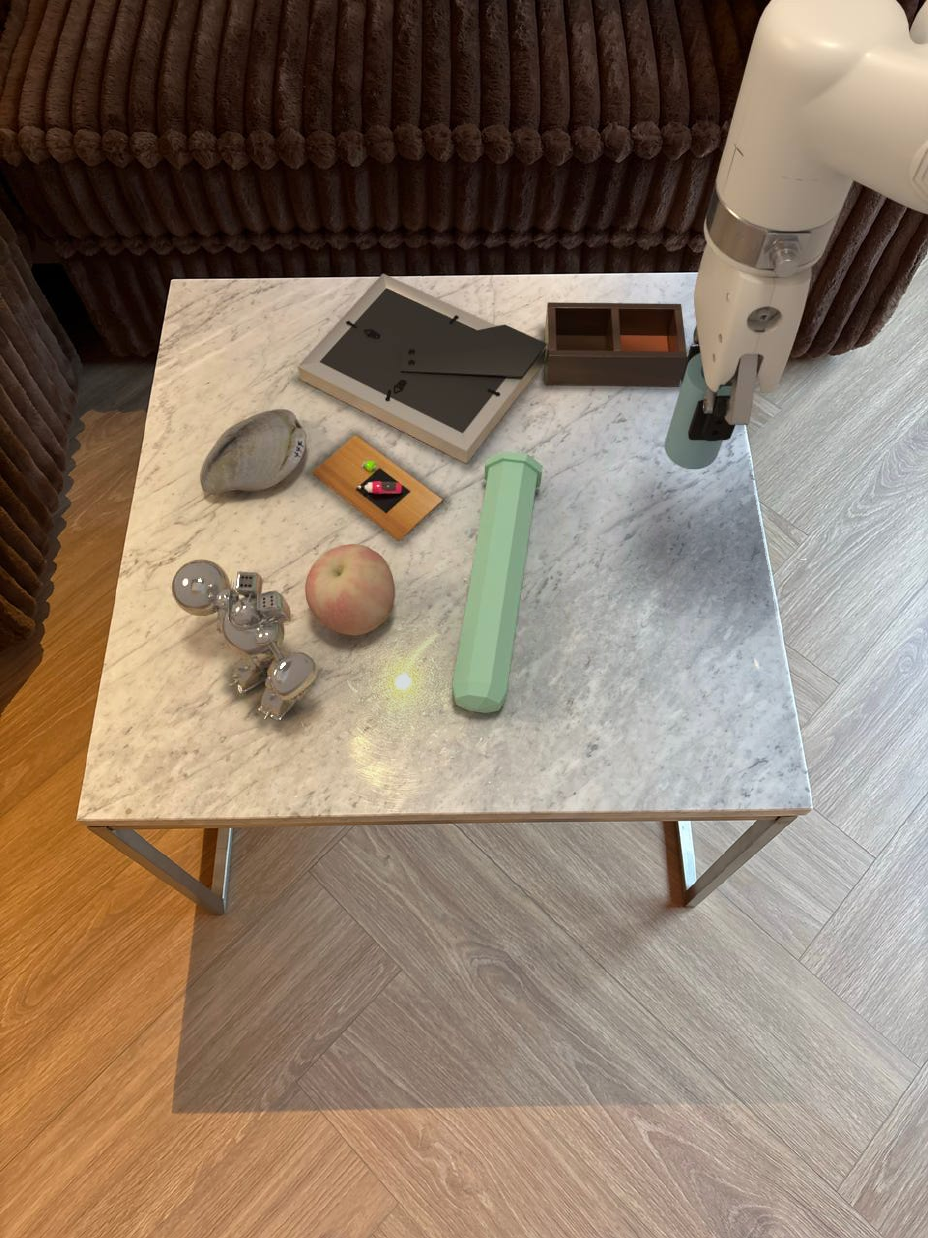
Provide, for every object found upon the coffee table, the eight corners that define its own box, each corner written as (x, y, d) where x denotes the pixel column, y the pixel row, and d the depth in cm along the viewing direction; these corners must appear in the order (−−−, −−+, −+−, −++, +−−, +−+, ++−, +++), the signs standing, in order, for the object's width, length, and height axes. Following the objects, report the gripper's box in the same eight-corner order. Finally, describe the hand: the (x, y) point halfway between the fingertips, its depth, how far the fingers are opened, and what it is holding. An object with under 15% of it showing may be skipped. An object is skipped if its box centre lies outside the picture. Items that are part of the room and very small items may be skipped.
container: (496, 695, 77) (532, 447, 88) (431, 696, 79) (474, 454, 90) (520, 722, 82) (552, 483, 92) (458, 722, 84) (496, 489, 95)
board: (356, 435, 97) (354, 426, 95) (442, 500, 93) (442, 492, 92) (311, 473, 95) (309, 464, 93) (398, 541, 91) (397, 533, 90)
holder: (544, 332, 103) (547, 301, 99) (673, 333, 103) (681, 303, 99) (545, 385, 100) (548, 355, 96) (678, 386, 99) (687, 357, 95)
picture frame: (544, 362, 101) (384, 287, 106) (546, 343, 98) (382, 267, 104) (466, 464, 95) (300, 379, 100) (466, 446, 92) (296, 361, 97)
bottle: (714, 426, 79) (746, 340, 70) (721, 469, 77) (754, 386, 68) (661, 426, 79) (686, 340, 70) (666, 469, 77) (692, 386, 68)
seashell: (238, 529, 92) (226, 499, 87) (186, 479, 94) (172, 448, 90) (330, 457, 95) (323, 426, 91) (277, 412, 98) (268, 379, 94)
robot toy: (183, 641, 86) (130, 556, 73) (235, 597, 88) (193, 507, 75) (291, 747, 81) (256, 677, 68) (343, 699, 83) (319, 621, 70)
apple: (363, 560, 90) (354, 513, 83) (415, 613, 87) (411, 569, 80) (297, 610, 87) (281, 566, 80) (349, 666, 85) (338, 626, 78)
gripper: (859, 317, 53) (768, 500, 70) (810, 123, 61) (738, 329, 77) (726, 318, 53) (666, 500, 70) (694, 123, 61) (646, 329, 77)
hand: (704, 408), depth 73 cm, fingers closed on bottle, 4 cm apart
